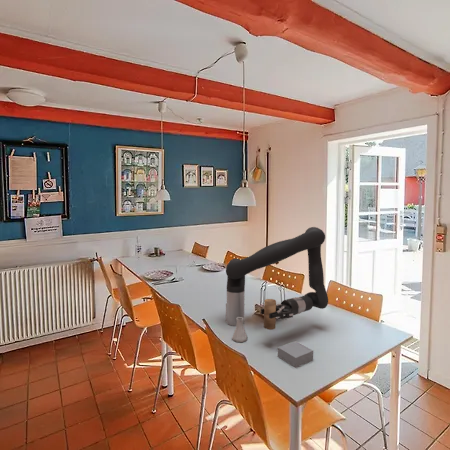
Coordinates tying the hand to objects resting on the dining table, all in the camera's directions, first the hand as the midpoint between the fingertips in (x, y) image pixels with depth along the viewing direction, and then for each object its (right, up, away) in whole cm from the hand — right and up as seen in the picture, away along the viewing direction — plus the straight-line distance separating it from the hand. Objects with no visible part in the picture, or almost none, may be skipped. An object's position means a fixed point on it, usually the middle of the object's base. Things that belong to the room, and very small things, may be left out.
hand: (265, 313), depth 136 cm
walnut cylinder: (+2, -6, +2) cm, 7 cm away
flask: (-11, -14, +9) cm, 20 cm away
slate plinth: (+11, -16, -8) cm, 21 cm away
